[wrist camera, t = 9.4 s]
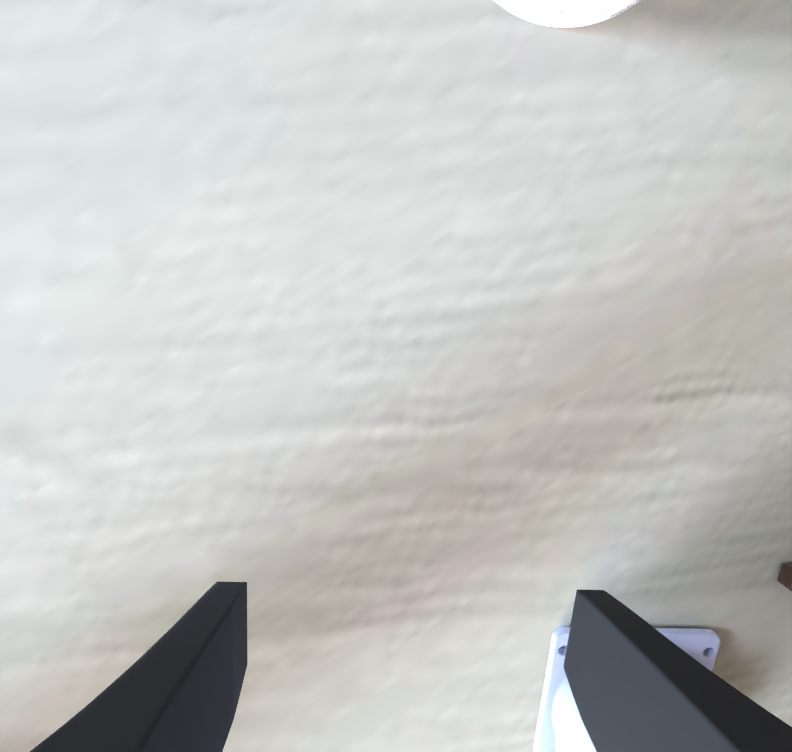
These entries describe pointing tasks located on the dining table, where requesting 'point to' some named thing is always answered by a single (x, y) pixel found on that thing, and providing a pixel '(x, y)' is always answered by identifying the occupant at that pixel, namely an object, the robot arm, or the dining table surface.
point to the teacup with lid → (565, 11)
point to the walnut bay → (786, 575)
